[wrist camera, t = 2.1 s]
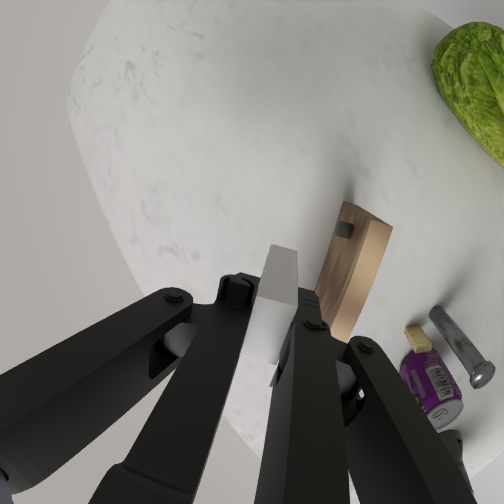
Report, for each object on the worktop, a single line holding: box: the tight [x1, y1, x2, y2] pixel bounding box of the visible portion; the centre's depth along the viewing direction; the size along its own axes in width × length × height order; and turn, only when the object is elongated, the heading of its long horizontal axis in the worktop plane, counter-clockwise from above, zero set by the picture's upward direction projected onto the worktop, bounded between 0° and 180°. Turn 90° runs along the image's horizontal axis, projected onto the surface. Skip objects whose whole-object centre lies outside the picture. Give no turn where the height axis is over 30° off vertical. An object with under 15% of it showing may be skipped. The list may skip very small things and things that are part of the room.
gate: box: [315, 201, 393, 343], centre depth 26 cm, size 15×3×12 cm, turn 167°
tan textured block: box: [404, 325, 433, 354], centre depth 31 cm, size 1×2×5 cm, turn 96°
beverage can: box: [399, 349, 463, 431], centre depth 29 cm, size 7×7×12 cm
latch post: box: [429, 306, 495, 389], centre depth 25 cm, size 3×3×15 cm
